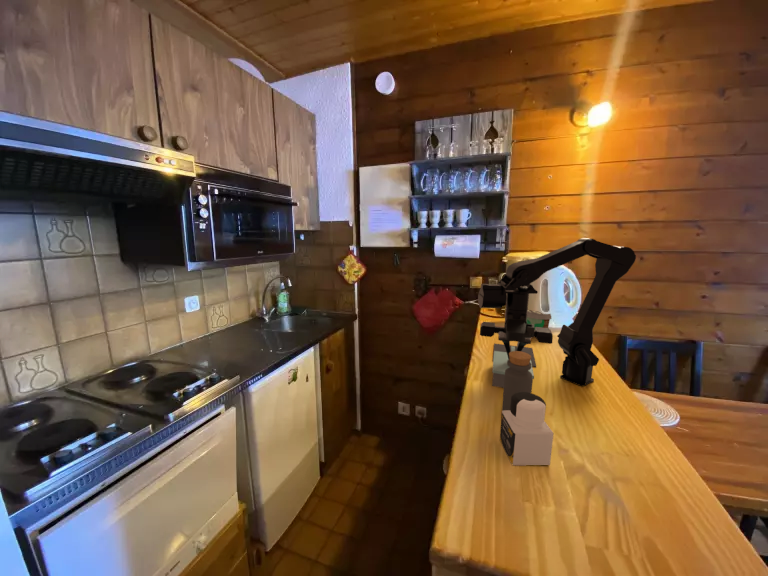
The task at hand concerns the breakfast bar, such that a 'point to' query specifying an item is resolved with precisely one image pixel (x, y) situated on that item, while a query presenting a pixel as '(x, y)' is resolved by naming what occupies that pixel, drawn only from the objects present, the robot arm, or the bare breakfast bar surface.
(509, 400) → the bottle
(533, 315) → the food container
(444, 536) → the breakfast bar surface
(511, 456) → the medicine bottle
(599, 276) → the robot arm
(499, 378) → the tub
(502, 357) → the lid
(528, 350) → the mat
